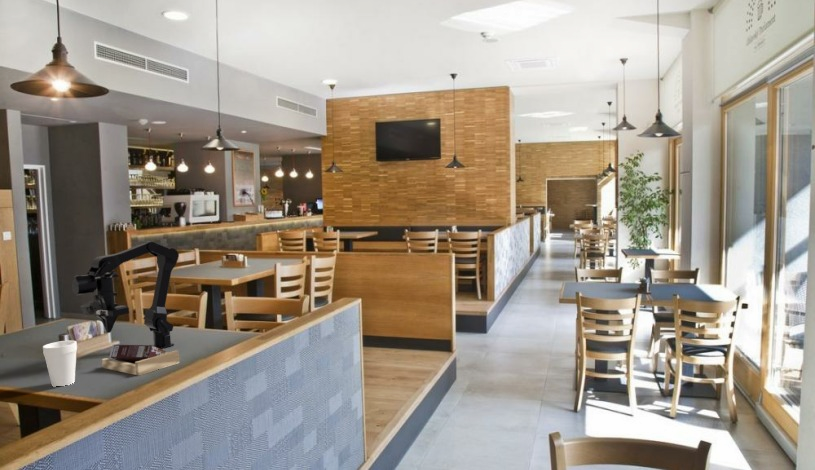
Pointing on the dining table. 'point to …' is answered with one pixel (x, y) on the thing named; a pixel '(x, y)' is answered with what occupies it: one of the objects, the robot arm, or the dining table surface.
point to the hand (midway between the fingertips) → (108, 332)
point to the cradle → (143, 363)
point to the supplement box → (134, 352)
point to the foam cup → (61, 362)
